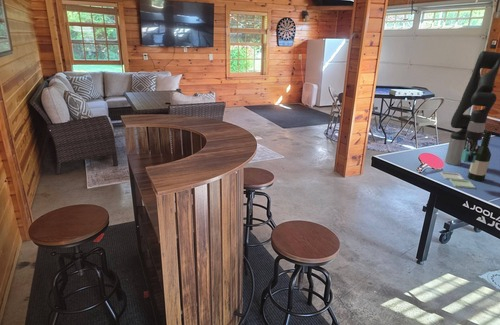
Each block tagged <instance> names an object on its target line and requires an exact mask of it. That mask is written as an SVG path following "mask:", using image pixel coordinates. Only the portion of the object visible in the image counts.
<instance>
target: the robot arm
mask: <svg viewBox="0 0 500 325" xmlns="http://www.w3.org/2000/svg"><path fill="white" fill-rule="evenodd" d="M481 69H485V70H489V71H488V72H485V74H483V75H481ZM499 70H500V52H496V51H491V50H490V51H488V50H483V51H481V52H480V54H478V58H477V59H476V62H475V65H474V68H473V71H472V73H471V75H470V78H469V81H468V82H467V85H466V87H465V90H464V92H463V95H462V97H461V99H460V102H459V104H458V106H457V108H456V110H455V112H454V114H453V116H451V117H452V118H451V121H450V126H451V128H453V129H460V130H457V131H455V132H452V133H451V134H450V137H449V141H448V142H449V143H448V147H447V151H446V155H445V158H444V159H445V160H444V163H446V164H448V165H450V166H451V165H452V166H461V164H462V160H461V158H462V154H463V151H469V157H468V162H467V163H469V162H472V161H473V157H474V156H475V155H477V152H478V150H479V147H480V146H481V145H479V143H478V141H482V140H483V136H484V132H485V130H486V129H485V128H486V122H487V118H488V116H489V113H490V111H491V109H492V108H493V106H494V105H495V103H496V102H497V95H496V93H494V87H495V81H496V78H497V76H498V73H499ZM472 106H477V107H484V108H483V109H476V110H473V111H472V113H471V115H470V114H466V113H465V112H466V111H467V110H468V109H470V108H471V107H472Z"/></svg>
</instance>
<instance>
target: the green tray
mask: <svg viewBox="0 0 500 325" xmlns="http://www.w3.org/2000/svg"><path fill="white" fill-rule="evenodd" d="M449 181H450V183H452V185H453V186H454V187H455V188H463V189H474V190H475V189H476V186H475V185H474V184H473V183H472V181H471V180H470V179H468V180H467V179H465V180H459V179H450V180H449Z"/></svg>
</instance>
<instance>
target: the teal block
mask: <svg viewBox="0 0 500 325" xmlns="http://www.w3.org/2000/svg"><path fill="white" fill-rule="evenodd" d="M468 157H469V151H465V150H464V151H463V154H462V158H461V162H464V163H470V164H471V163H475V159H476V155H475V156H474V157H473V161H472V162H468Z"/></svg>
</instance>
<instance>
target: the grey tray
mask: <svg viewBox="0 0 500 325" xmlns="http://www.w3.org/2000/svg"><path fill="white" fill-rule="evenodd" d="M440 175H441V176H442V177H443V178H444V180H448V181H450V179H459V180H466V179H465V178H464V177H463V176H462V175H461V174H460V173H459V172H458V173H457V172H447V171H440Z"/></svg>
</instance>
